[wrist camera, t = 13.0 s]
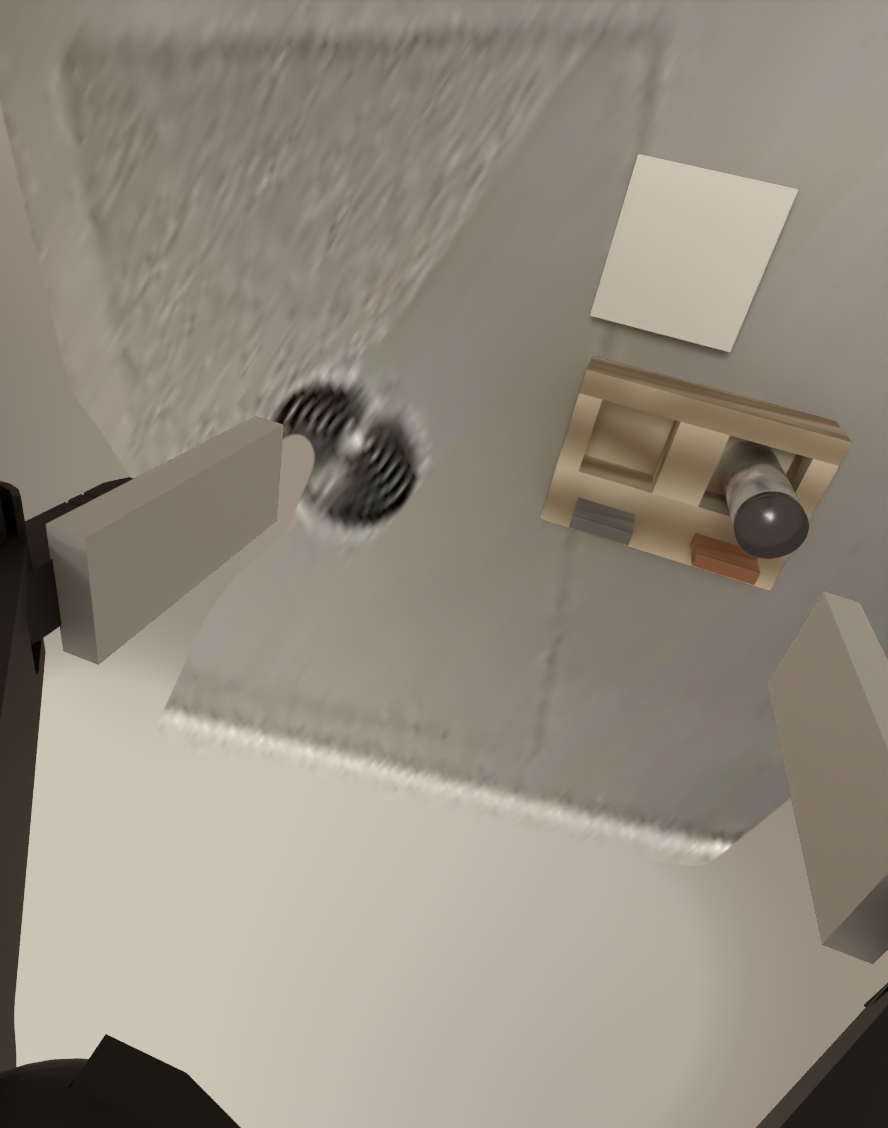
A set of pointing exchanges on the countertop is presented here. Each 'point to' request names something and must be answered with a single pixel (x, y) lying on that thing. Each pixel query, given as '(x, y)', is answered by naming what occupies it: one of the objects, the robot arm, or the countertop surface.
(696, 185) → the plate
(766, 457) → the shaker with dark cap
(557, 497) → the socket block
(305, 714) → the countertop surface
